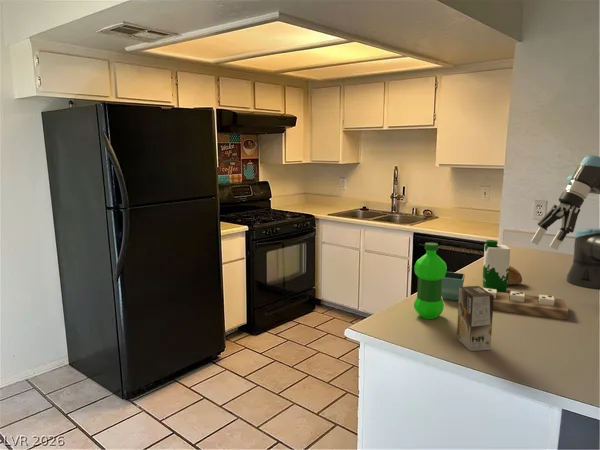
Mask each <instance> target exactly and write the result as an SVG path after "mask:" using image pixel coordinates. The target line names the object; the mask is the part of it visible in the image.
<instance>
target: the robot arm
mask: <svg viewBox="0 0 600 450" xmlns="http://www.w3.org/2000/svg"><path fill="white" fill-rule="evenodd" d="M565 180H566V181H565V184H566V186H565V188H564V191H562V193H561V194H560V196H559V198H558V202H559V203H560V204H559V205H556V204H553V206H552V207H551V209H550V210H549V211H548V212H547V213H546V214H545V215H544V216H543V217H542V218H541V220H540V221H538V223H537V226H539V227H538V229H537V230H536V232H535V234H534V236H533V237H532V239H530V242H531V243H533V244H535V245H539V244H540V242H541V241H542V239H543V237H544V236H545V234H546V232H547V231H548V228H549V227H550V226H552V225H553V224H554V223H555V222H557V221H558V220H561V225H560V226H561V227H560V228H559V229H558V231H557V233H556V234H555V236H554V237H553V239H552V241H551V242H550V244H549V247H550V248H551V249H553V250H554V249H555V250H557V251H558V249H559V248H560V246H561V244H562V243H563V241H564V239H565V238H566V236H567V235H569V234H570V233H574V232H575V227H576V224H577V221H578V216H579V214H580V212H581V207H582V206H583V204H584V202H585V200H586V199H587V197H588V196H589V194H593V195H594V194H595V195H600V156H597V155H594V154H588V155H586V156H584V157H583V159H582V160H581V161H580V163H579V164H578V167H577V168H576V169H575V171H574V172H573V173H570V174H569V175H568V176H567V178H566V179H565ZM573 248H574V249H573V260H572V264H571V267H570V269H568V270H569V271H568V273H567V274H566V282H568V283H569V284H572V285H575V286H579V287H583V288H592V289H600V228H594V227H593V228H592V227H591V228H590V227H589V228H579V229H577V230H576V232H575V237H574V247H573Z"/></svg>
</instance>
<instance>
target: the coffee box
mask: <svg viewBox="0 0 600 450" xmlns="http://www.w3.org/2000/svg"><path fill="white" fill-rule="evenodd" d="M493 302H494V295H492V294H491V293H489V292H487V291H486V290H484V288H483V287H481V286H479V285H469V286H467V285H466V286H463V287H459V298H458V308H457V309H458V310H457V324H456V325H457V327H456V328H457V329H456V330H457V331H456V339H457V340H458V341H459V342H460V343H461V344H462V345H463V346H464V347H466V349H467V350H469V351H470V352H475V351H476V352H477V351H490V350H491V345H492V344H491V343H492V332H493V331H492V330H493V329H492V328H493V316H494V315H493V313H494V310H493Z"/></svg>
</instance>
